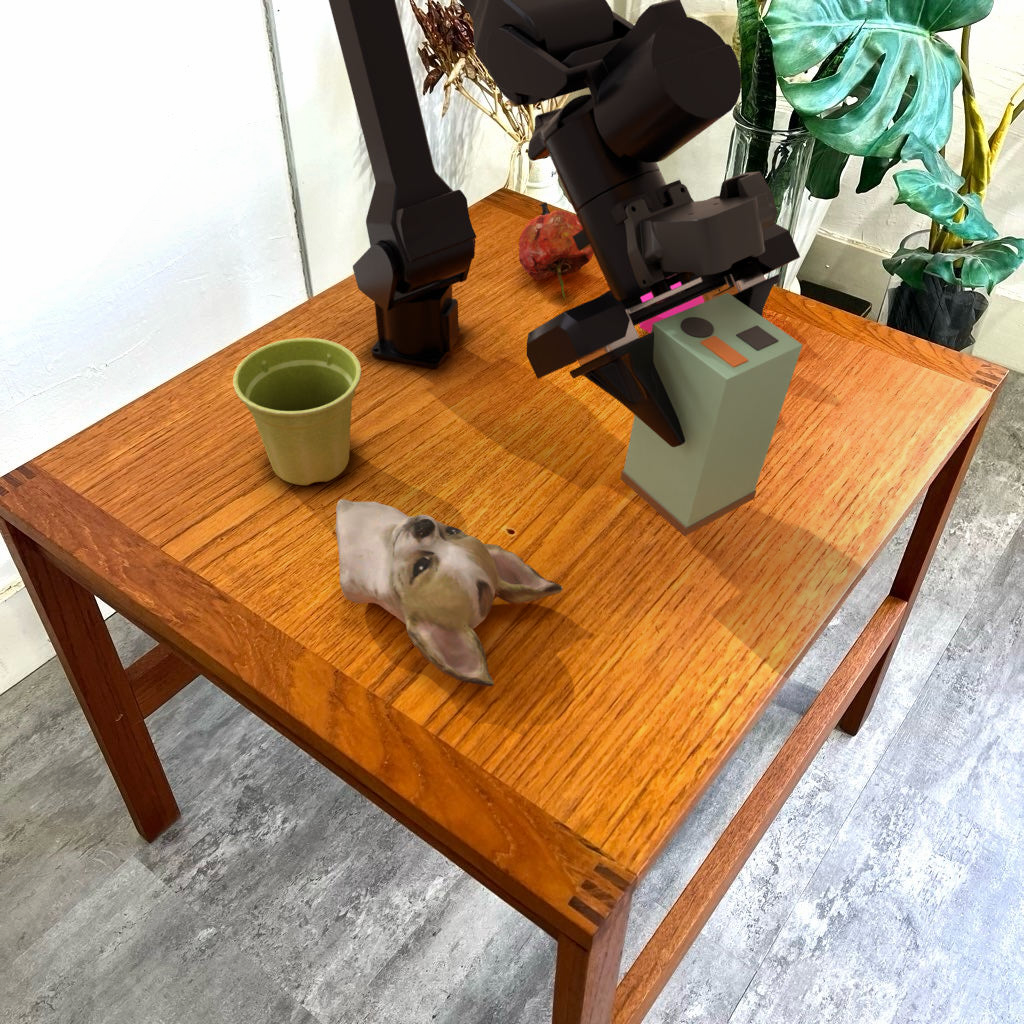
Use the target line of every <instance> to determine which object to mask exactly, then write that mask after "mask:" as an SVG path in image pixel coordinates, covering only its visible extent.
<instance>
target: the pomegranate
mask: <svg viewBox="0 0 1024 1024" xmlns="http://www.w3.org/2000/svg"><path fill="white" fill-rule="evenodd" d="M538 206H539V207H541V210H542V211H541V214H540V215H536V216H535V217H533V218H532V219H531V220H530V221H528V222H527V223H526V224H525V226H524V228H523V229H522V232H521V233H520V237H519V242H518V261H519V263H520V265H521V266H522V269H523V270H524V271H525V273H527V275H528V276H529V277H531V278H532V279H534V280H544V279H547V278H549V277H551V276H554V275H555V276H556V275H557V278H558V282H559V284H560V289H561V294H562V299H563V300H565V299H566V298H565V290H564V285H565V282H564V280H563V278H562V276H566V275H570V274H575V273H578V272H579V271H581V269H582V268H583V267H584V266H586V265H587V264H588V263H589V262H590V261H591V260H592V258H593V255H594V253H593V251H592V248H591V247H589V248H586V249H584V250H581V251H579V250H578V248H577V246H576V243H575V241H574V239H573V236H574V235H575V234H577V233H578V232H580V231H581V230H582V229H583V228H582V226H581V224H580V222H579V220H578V217H577V215H576V214H573V213H569V212H567V211H564V210H557V209H556V210H552V211H551V212H550V210H549V207H548V203H547V202H546V201H544V202H542V203H540V204H538Z"/></svg>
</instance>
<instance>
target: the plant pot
mask: <svg viewBox="0 0 1024 1024" xmlns="http://www.w3.org/2000/svg"><path fill="white" fill-rule="evenodd" d="M361 378H362V367H361V363H360V360H359V358H358V357H357V356H356V355H355V353H354V352H352V351H351V350H350V349H348V348H347V347H346V346H344V345H341V344H340V343H338V342H335V341H331V340H328V339H324V338H317V337H315V338H314V337H296V338H287V339H282V340H278V341H273V342H271V343H268V344H266V345H263V346H260V348H257V349H256V350H253V351H252V352H251V353H249V354H248V355H247V356H245V357H244V358H243V359H242V361H241V362H240V363H239V364H238V365H237V367H236V370H235V371H234V374H233V378H232V384H233V388H234V391H235V394H236V395H237V397H238V398H239V400H240V401H241V402H242V403H244V404H245V406H246V408H247V410H248V411H249V413H251V415H252V418H253V420H254V422H255V424H256V427H257V430H258V433H259V436H260V438H261V441H262V443H263V447H264V449H265V452H266V454H267V457H268V460H269V463H270V465H271V468H272V470H273V472H274V473H275V475H276V476H277V477H279V478H280V479H281V480H283V481H284V482H286V483H290V484H292V485H298V486H309V485H311V484H314V483H319V482H329V481H332V480H334V479H335V478H337V477H338V476H340V475H341V474H342V473H343V472H344V471H345V469H346V468H347V466H348V463H349V461H350V445H351V427H352V425H351V424H352V423H351V422H352V410H353V408H352V407H353V400H354V399H355V395H356V390H357V388H358V386H359V385H360V382H361Z"/></svg>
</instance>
